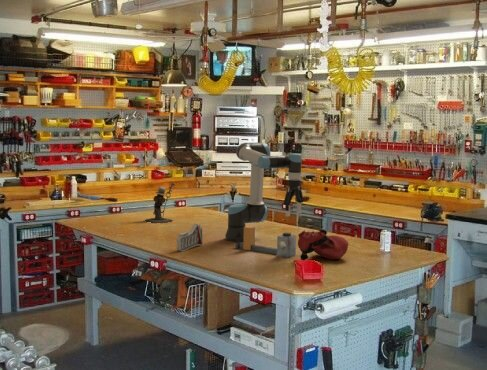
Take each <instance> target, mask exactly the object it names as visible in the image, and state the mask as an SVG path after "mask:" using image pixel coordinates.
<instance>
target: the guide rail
mask: <svg viewBox="0 0 487 370" xmlns="http://www.w3.org/2000/svg"><path fill="white" fill-rule="evenodd" d="M243 244H244V241H236V242H235V245H234V247H235V249H237V250H244V249H243ZM250 251H251V252H259V253H264V254H270V255H276V256H277V247H270V246H269V247H268V246H263V245H256V244H255V245H251V250H250Z"/></svg>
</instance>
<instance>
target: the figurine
mask: <svg viewBox="0 0 487 370" xmlns="http://www.w3.org/2000/svg"><path fill="white" fill-rule="evenodd" d="M175 186H176V183H173V182H171V184H170V187H169V190H168V191H167V192H166V187H164V186H159V187H158V189H157V190H158V191H155V193H154V194H157V195H155V196H154V197H153V201H154V206H153V210H154V211H153V212H152V214H153V215H154V217H152V218H151V217H150V218H146V219H144V220H145V221H146V222H145V223H147V222H151V223H150V224H157V223H160V224H169V223H168V222H170V223H172V221H173V222H174V220H173V219H171V218H168V217H164V214H165V211H166V210H165V209H166V205H167V202H168V199H170V198H171V196H172V194H171V193H172V192H173V188H174V187H175ZM167 194H169V196H168V195H167ZM163 205H164V208H163V210H162V208H161V207H163Z"/></svg>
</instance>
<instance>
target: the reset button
mask: <svg viewBox="0 0 487 370" xmlns="http://www.w3.org/2000/svg"><path fill="white" fill-rule="evenodd" d="M291 234H292V233H291V232H283V233H282V235H283V236H286V237H288V236H291Z"/></svg>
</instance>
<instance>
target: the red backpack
mask: <svg viewBox="0 0 487 370" xmlns="http://www.w3.org/2000/svg"><path fill="white" fill-rule="evenodd" d="M327 234H328V232H327V230H326V229H324V228H323V229H322V228H321V227H320V228H319V231H314V230H313V231H305V230H302V231H301V232H299V233H298V235H297V236H298V241H297V247H298V249H299V251H300V252H301V255H300V256H299V257H300V259H301V260H302V261H304V260H303V259H307V260H308V259H309V256H308V254H310V253H311V254H312V253H315V254H317V255H318V256H320V257H322V258H325V259H327V260H332V259H336V260H340V259H341V258H342V257H343V256H344V255H345V254H346V253H347V251H348V248H349V242H348V240H347V239H345V237H342V236H339V235H327Z"/></svg>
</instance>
